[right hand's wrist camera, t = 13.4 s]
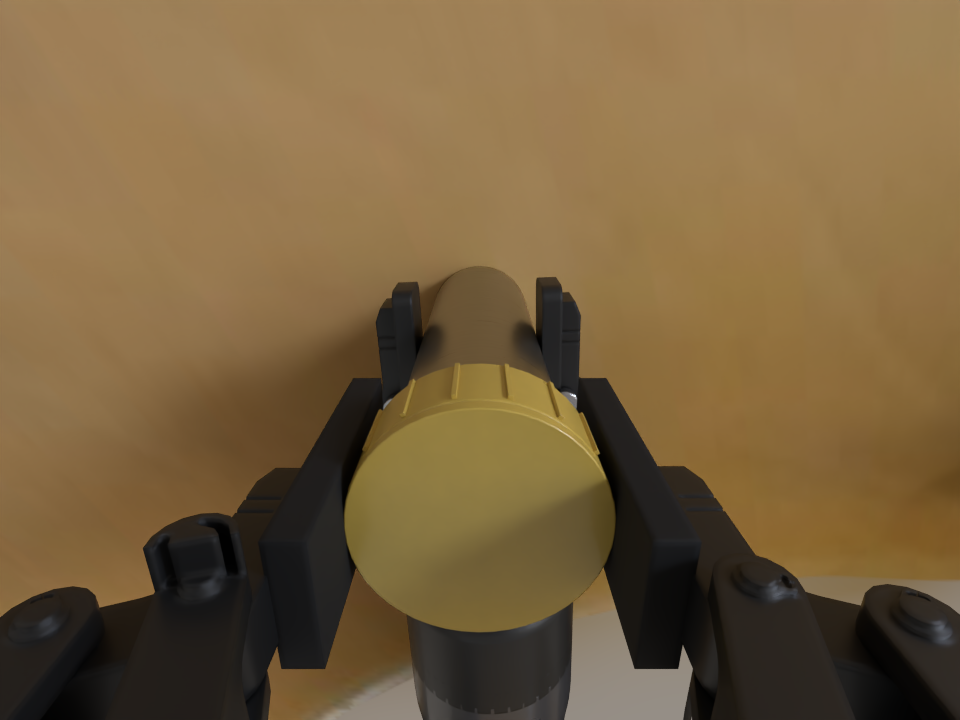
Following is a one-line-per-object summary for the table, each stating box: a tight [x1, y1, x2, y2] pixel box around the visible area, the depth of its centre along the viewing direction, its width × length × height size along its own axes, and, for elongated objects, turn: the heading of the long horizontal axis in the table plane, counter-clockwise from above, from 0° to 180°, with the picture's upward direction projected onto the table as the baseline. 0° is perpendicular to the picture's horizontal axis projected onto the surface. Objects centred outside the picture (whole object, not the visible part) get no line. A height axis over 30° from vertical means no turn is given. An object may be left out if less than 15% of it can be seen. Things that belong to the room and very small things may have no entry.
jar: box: [408, 267, 551, 385], centre depth 18 cm, size 4×4×16 cm
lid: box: [344, 363, 616, 632], centre depth 11 cm, size 6×6×2 cm
